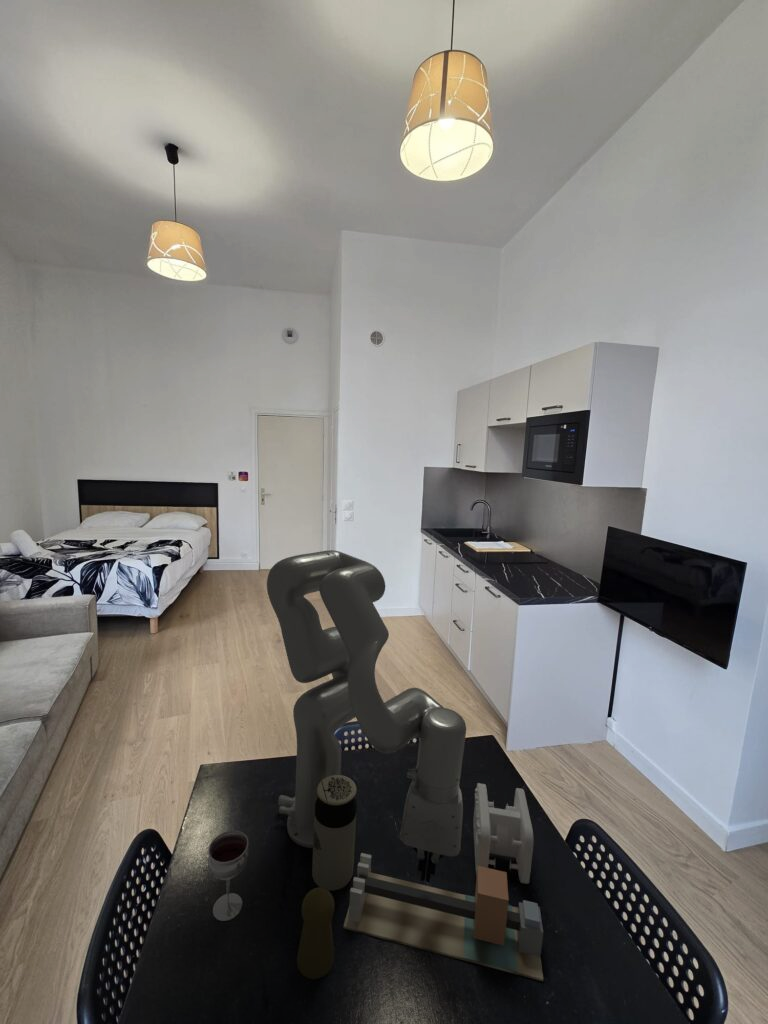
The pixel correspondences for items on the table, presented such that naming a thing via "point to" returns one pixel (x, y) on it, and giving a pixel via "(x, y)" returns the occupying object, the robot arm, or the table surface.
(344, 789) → the travel mug
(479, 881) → the brown rectangular block
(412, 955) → the table surface
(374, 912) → the board
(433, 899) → the dark grey bar
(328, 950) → the yellow peg figure
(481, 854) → the cable organizer
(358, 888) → the cable comb
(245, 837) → the wineglass
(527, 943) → the connector
